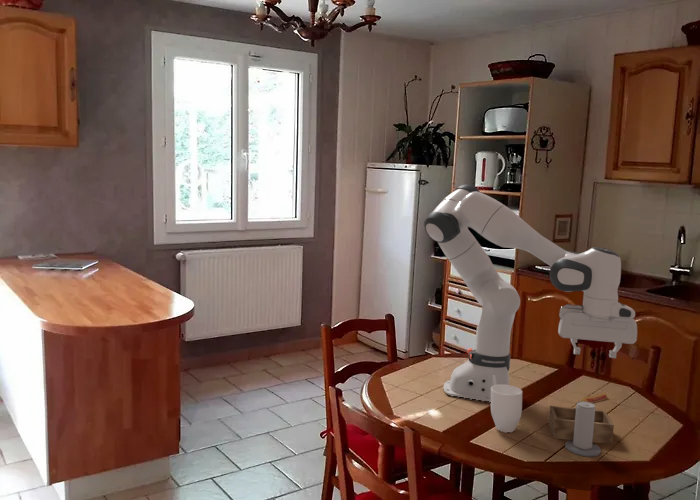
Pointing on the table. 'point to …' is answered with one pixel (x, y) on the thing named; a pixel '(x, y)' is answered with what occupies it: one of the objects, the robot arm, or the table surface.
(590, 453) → the slate coaster
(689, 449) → the table surface
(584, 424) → the beverage can
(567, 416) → the box
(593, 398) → the chocolate bar
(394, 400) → the table surface
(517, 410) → the mug
